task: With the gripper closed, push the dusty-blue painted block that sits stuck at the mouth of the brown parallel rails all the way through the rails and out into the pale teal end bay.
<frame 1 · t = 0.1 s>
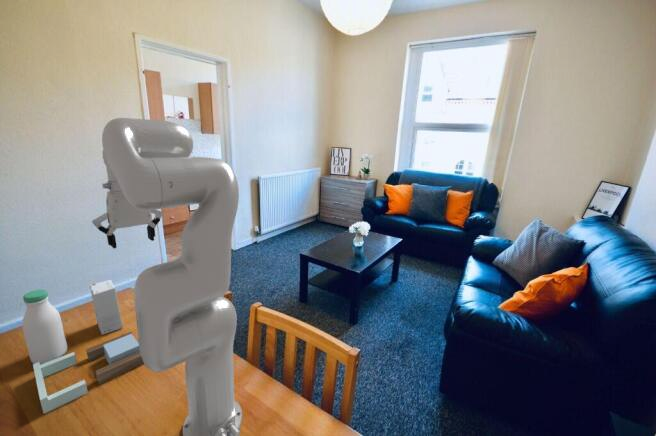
hand: (133, 243, 86), 31 cm above the table, fingers open, 9 cm apart
end bay: (66, 382, 75), on the table
block: (123, 358, 84), on the table
skincare box: (109, 326, 97), on the table
brown parallel rails: (117, 360, 83), on the table
milk bottle: (50, 355, 83), on the table
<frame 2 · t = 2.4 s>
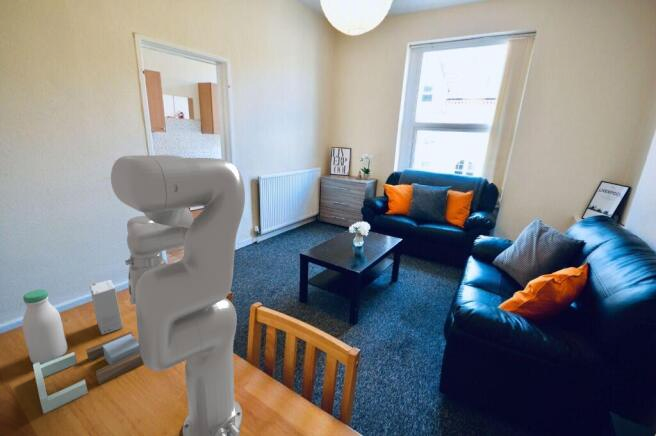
hand: (153, 314, 88), 10 cm above the table, fingers closed
nothing on the table moved.
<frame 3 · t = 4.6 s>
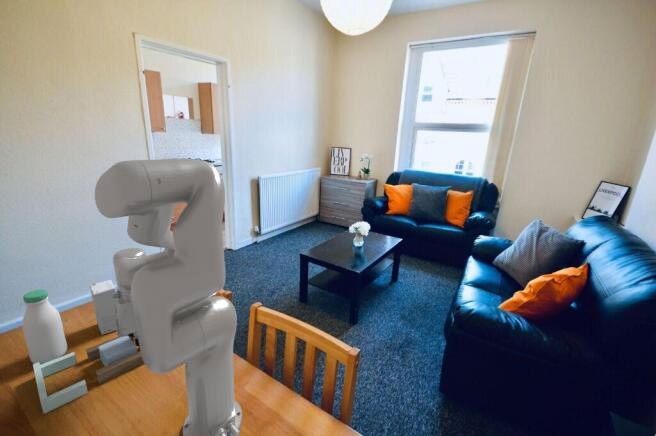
hand: (142, 345, 87), 1 cm above the table, fingers closed
block: (119, 359, 84), on the table, touching gripper
everything else where it was.
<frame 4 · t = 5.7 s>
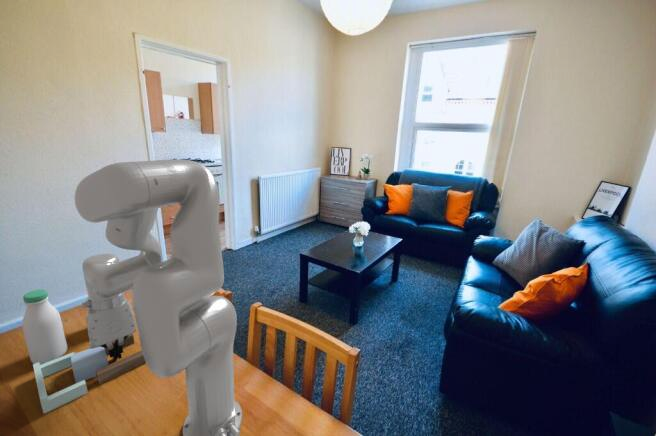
hand: (116, 356, 83), 1 cm above the table, fingers closed
block: (91, 369, 80), on the table
everything else where it was.
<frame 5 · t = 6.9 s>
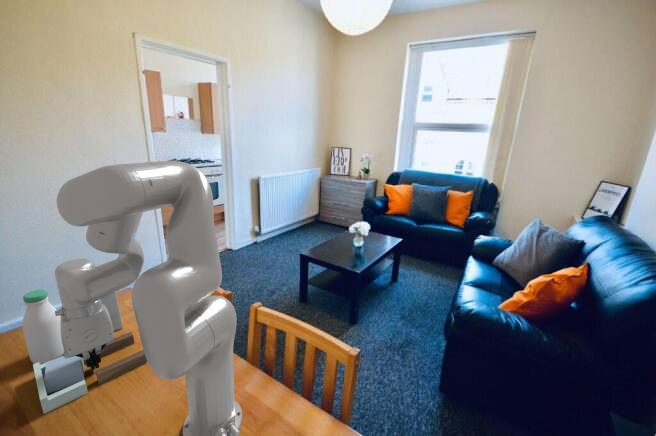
hand: (94, 366, 79), 1 cm above the table, fingers closed
block: (67, 378, 76), on the table, touching gripper
everything else where it was.
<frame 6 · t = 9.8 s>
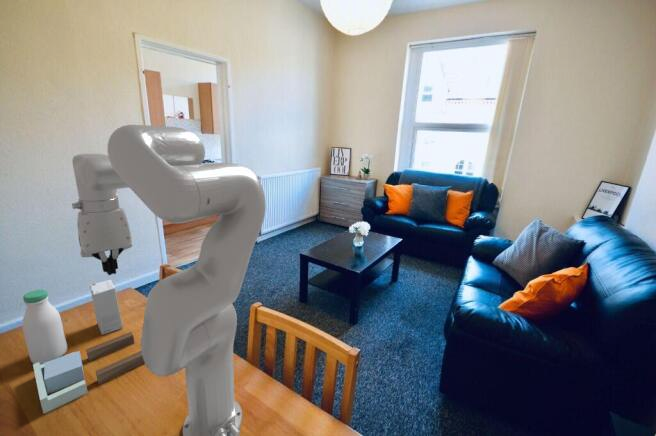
hand: (111, 272, 77), 27 cm above the table, fingers closed
block: (66, 378, 76), on the table
everything else where it was.
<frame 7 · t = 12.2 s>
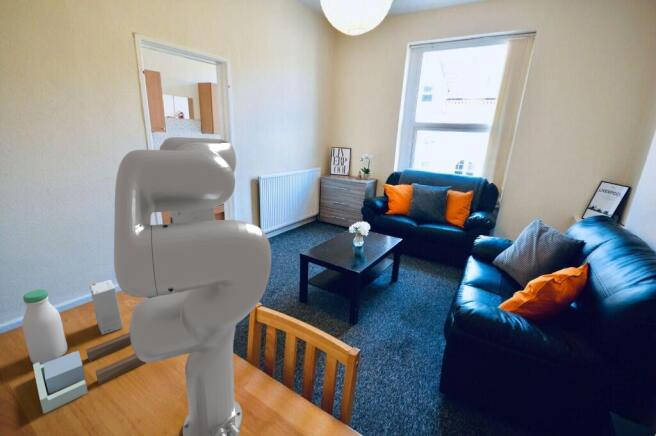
hand: (195, 256, 78), 32 cm above the table, fingers closed
nothing on the table moved.
at the end: block inside the target area (2.0 cm from its centre), on the table; block tilted 0°; block moved 12.5 cm from its start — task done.
